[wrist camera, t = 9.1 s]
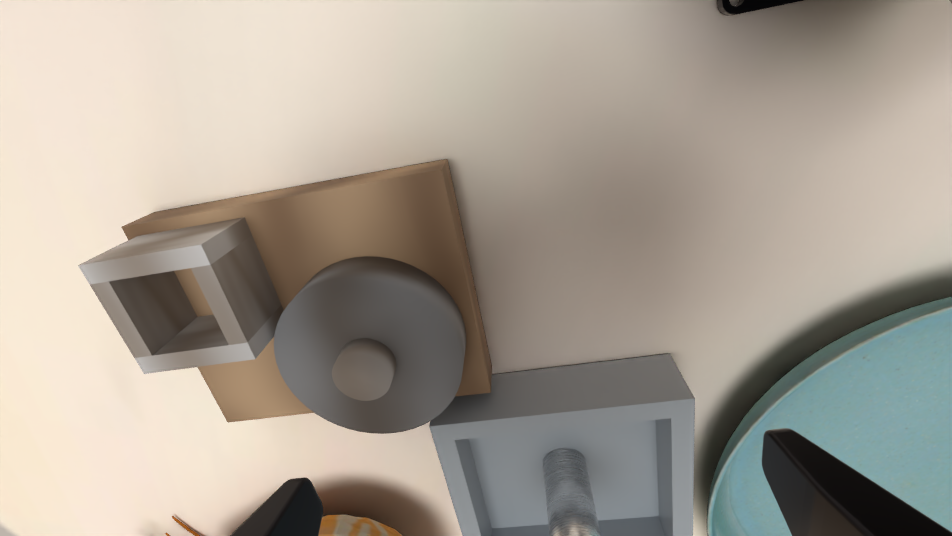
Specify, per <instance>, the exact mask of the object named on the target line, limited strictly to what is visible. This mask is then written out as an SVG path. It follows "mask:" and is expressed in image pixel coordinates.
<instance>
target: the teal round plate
mask: <svg viewBox="0 0 952 536" xmlns="http://www.w3.org/2000/svg"><path fill="white" fill-rule="evenodd" d="M782 428H789V429H792V430H794V431H796V432H797V433H799V434H800V435H802V436H804V437H805V438H807V439H808V440H810V441H811V442H813V443H814V444H816V445H818V446H819V447H821V448H822V449H824V450H825V451H827V452H828V453H830V454H832V455H833V456H835V457H836V458H838V459H839V460H841V461H842V462H844V463H845V464H847V465H849V466H850V467H852V468H853V469H855V470H856V471H858V472H859V473H861V474H863V475H864V476H866V477H867V478H869V479H870V480H872V481H873V482H875V483H876V484H878V485H880V486H881V487H883V488H884V489H886V490H887V491H889V492H890V493H892V494H894V495H895V496H897V497H898V498H900V499H901V500H903V501H904V502H906V503H907V504H909V505H911V506H912V507H914V508H915V509H917V510H918V511H920V512H921V513H923V514H925V515H926V516H928V517H929V518H931V519H932V520H934V521H935V522H937V523H939V524H940V525H942V526H943V527H945V528H946V529H948V530H949V531H951V532H952V297H948V298H944V299H940V300H936V301H932V302H929V303H925V304H922V305H919V306H915V307H912V308H909V309H906V310H903V311H900V312H898V313H895V314H892V315H889V316H887V317H885V318H882V319H880V320H877V321H875V322H873V323H870V324H868V325H866V326H864V327H862V328H859V329H857V330H855V331H853V332H851V333H849V334H847V335H845V336H843V337H841V338H840V339H838V340H836V341H834V342H832V343H830V344H829V345H827V346H825V347H824V348H822V349H820V350H819V351H817V352H816V353H814V354H813V355H811V356H810V357H808V358H807V359H805V360H804V361H802V362H801V363H800V364H798V365H797V366H795V367H794V368H793V369H792V370H791V371H789V372H788V373H787V374H786V375H785V376H783V377H782V378H781V379H780V380H779V381H777V382H776V383H775V384H774V385H773V386H772V387H771V388H770V389H769V390H768V391H767V392H766V393H765V394H764V395H763V396H762V397H761V398H760V399H759V400H758V401H757V402H756V403H755V404H754V406H753V407H752V408H751V409H750V410H749V412H748V413H747V414H746V415H745V417H744V418H743V420H742V421H741V422H740V424H739V425H738V427H737V428H736V430H735V431H734V433H733V434H732V436H731V438H730V439H729V441H728V443H727V444H726V446H725V448H724V451H723V453H722V455H721V457H720V460H719V462H718V465H717V467H716V470H715V473H714V477H713V480H712V483H711V488H710V493H709V498H708V506H707V534H708V536H792V534H791V532H790V530H789V528H788V526H787V523H786V521H785V519H784V517H783V515H782V512H781V510H780V508H779V506H778V503H777V501H776V499H775V497H774V495H773V492H772V490H771V488H770V486H769V483H768V481H767V479H766V477H765V474H764V471H763V468H762V449H763V436H764V433H765V432H766V431H767V430H772V429H782Z"/></svg>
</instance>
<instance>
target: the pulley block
mask: <svg viewBox="0 0 952 536" xmlns="http://www.w3.org/2000/svg"><path fill="white" fill-rule="evenodd" d="M122 229H123V231H124V233H125V234H126V236H127V238H128V240H129V241H127V242H125V243H122V244H120V245H118V246H116V247H114V248H112V249H110V250H108V251H106V252H104V253H102V254H100V255H98V256H96V257H94V258H92V259H90V260H88V261H86V262H84V263H82V264H80V265H78V266H79V268H80V269H81V271H82V272H83V274H84V276H85V277H86V279H87V281H88V282H89V284H90V286H91V287H92V289H93V291H94V292H95V294H96V295H97V297H98V299H99V300H100V302H101V304H102V305H103V307H104V309H105V310H106V312H107V314H108V315H109V317H110V318H111V320H112V322H113V323H114V325H115V327H116V328H117V330H118V332H119V333H120V335H121V337H122V338H123V340H124V342H125V343H126V345H127V346H128V348H129V350H130V351H131V353H132V355H133V356H134V358H135V360H136V361H137V363H138V365H139V366H140V368H141V369H142V371H143V373H144V374H147V373H154V372H162V371H170V370H177V369H185V368H192V367H198V369H199V370H200V372H201V374H202V376H203V378H204V380H205V382H206V383H207V385H208V387H209V389H210V391H211V393H212V394H213V396H214V398H215V400H216V402H217V404H218V405H219V407H220V409H221V411H222V413H223V415H224V416H225V418H226V420H227V422H235V421H244V420H253V419H262V418H271V417H279V416H288V415H297V414H306V413H316V414H317V415H319V416H321V417H322V418H324V419H326V420H328V421H330V422H332V423H334V424H336V425H339V426H342V427H345V428H348V429H352V430H356V431H360V432H367V433H381V434H383V433H396V432H402V431H406V430H410V429H414V428H416V427H419V426H421V425H424V424H426V423H427V422H429V421H431V420H433V419H434V418H435V417H437V416H438V415H439V414H441V413H442V412H443V411H444V410H445V409H446V408H447V407H448V406H449V404H450V403H451V402H452V400H453V399H454V397H456V396H465V395H474V394H483V393H491V378H492V365H491V360H490V356H489V351H488V346H487V342H486V337H485V332H484V328H483V323H482V318H481V314H480V309H479V304H478V300H477V295H476V290H475V286H474V281H473V276H472V272H471V267H470V262H469V258H468V253H467V248H466V244H465V239H464V234H463V230H462V225H461V220H460V216H459V211H458V206H457V202H456V197H455V192H454V188H453V183H452V178H451V174H450V169H449V164H448V160H447V159H444V160H438V161H433V162H427V163H422V164H416V165H411V166H405V167H400V168H394V169H389V170H383V171H378V172H372V173H367V174H361V175H356V176H350V177H345V178H339V179H334V180H328V181H323V182H317V183H312V184H306V185H301V186H296V187H290V188H285V189H279V190H274V191H268V192H263V193H257V194H252V195H246V196H241V197H235V198H230V199H224V200H219V201H213V202H208V203H202V204H197V205H191V206H186V207H180V208H175V209H169V210H164V211H158V212H154V213H151V214H149V215H147V216H145V217H143V218H140V219H138V220H136V221H134V222H131V223H129V224H127V225H125V226H123V227H122Z"/></svg>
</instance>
